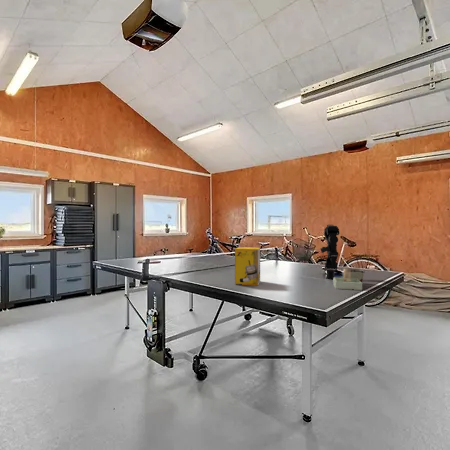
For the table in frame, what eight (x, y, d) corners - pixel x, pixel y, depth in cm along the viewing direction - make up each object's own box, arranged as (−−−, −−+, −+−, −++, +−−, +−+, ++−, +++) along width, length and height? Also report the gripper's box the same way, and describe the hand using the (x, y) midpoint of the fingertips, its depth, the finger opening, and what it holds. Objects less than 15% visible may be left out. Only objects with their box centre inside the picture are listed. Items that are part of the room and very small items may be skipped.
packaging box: (258, 285, 204) (258, 249, 204) (234, 284, 208) (234, 248, 208) (260, 281, 220) (260, 247, 220) (238, 280, 223) (238, 247, 223)
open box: (333, 283, 211) (333, 277, 211) (357, 285, 206) (357, 278, 206) (335, 288, 195) (335, 281, 195) (362, 290, 191) (362, 283, 191)
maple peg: (342, 286, 202) (342, 268, 202) (346, 285, 204) (346, 268, 204) (347, 287, 198) (347, 269, 198) (352, 287, 200) (352, 269, 200)
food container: (363, 282, 215) (363, 269, 215) (364, 284, 209) (364, 270, 209) (344, 281, 218) (344, 268, 218) (345, 283, 212) (345, 269, 212)
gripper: (320, 242, 227) (320, 262, 227) (321, 243, 209) (321, 265, 209) (335, 242, 225) (335, 263, 225) (338, 243, 206) (338, 266, 206)
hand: (332, 264), depth 216 cm, fingers open, 9 cm apart
